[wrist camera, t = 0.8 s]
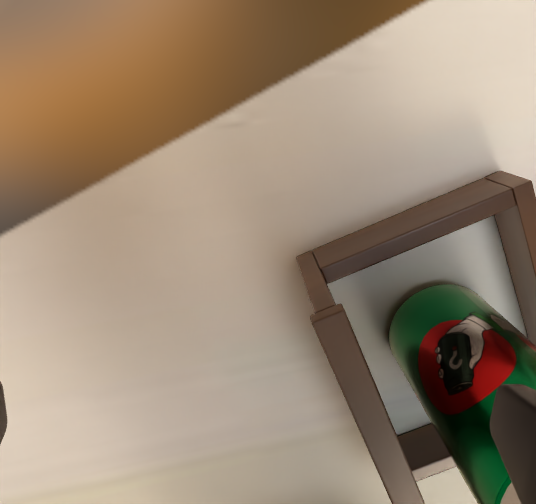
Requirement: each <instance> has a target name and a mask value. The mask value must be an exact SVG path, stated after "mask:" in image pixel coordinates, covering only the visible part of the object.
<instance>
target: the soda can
mask: <svg viewBox="0 0 536 504" xmlns="http://www.w3.org/2000/svg"><path fill="white" fill-rule="evenodd" d="M389 344H390V348H391V351H392V354H393V356H394V357H395V359H396V361H397V363H398V364H399V366H400V368H401V370H402V372H403V373H404V375H405V377H406V379H407V380H408V382H409V384H410V386H411V387H412V389H413V391H414V393H415V394H416V396H417V398H418V400H419V401H420V403H421V405H422V407H423V408H424V410H425V412H426V414H427V415H428V417H429V419H430V421H431V422H432V424H433V426H434V428H435V429H436V431H437V433H438V435H439V436H440V438H441V440H442V442H443V443H444V445H445V447H446V449H447V450H448V452H449V454H450V456H451V457H452V459H453V461H454V463H455V464H456V466H457V468H458V470H459V471H460V473H461V475H462V477H463V478H464V480H465V482H466V484H467V485H468V487H469V489H470V491H471V493H472V494H473V496H474V498H475V500H476V501H477V503H478V504H521V502H520V500H519V498H518V496H517V493H516V491H515V489H514V486H513V484H512V482H511V479H510V477H509V475H508V472H507V470H506V468H505V466H504V463H503V461H502V459H501V456H500V454H499V452H498V449H497V447H496V445H495V442H494V440H493V438H492V435H491V432H490V417H491V413H492V408H493V404H494V399H495V395H496V391H497V389H498V387H499V386H500V385H502V384H522V385H525V386H528V387H530V388H532V389H534V390H536V345H535V344H534V343H532V342H531V341H530V340H529V339H528V338H527V337H526V336H524V335H523V334H522V333H521V332H520V331H519V330H518V329H516V328H515V327H514V326H513V325H512V324H511V323H510V322H508V321H507V320H506V319H505V318H504V317H503V316H502V315H500V314H499V313H498V312H497V311H496V310H495V309H494V308H493V307H491V306H490V305H489V304H488V303H487V302H486V301H485V300H483V299H482V298H481V297H480V296H479V295H478V294H477V293H475V292H473V291H472V290H470V289H468V288H465V287H463V286H459V285H452V284H443V285H436V286H431V287H428V288H426V289H423V290H421V291H419V292H417V293H416V294H414V295H413V296H411V297H410V298H409V299H407V300H406V301H405V302H404V303H403V304H402V305H401V307H400V308H399V309H398V311H397V312H396V314H395V316H394V318H393V320H392V323H391V326H390V331H389Z"/></svg>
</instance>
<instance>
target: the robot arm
mask: <svg viewBox="0 0 536 504" xmlns="http://www.w3.org/2000/svg"><path fill="white" fill-rule="evenodd" d="M6 428H7V413H6V406H5V399H4V392H3V386H2V383H1V382H0V444H1V442H2V439H3V437H4V434H5V432H6ZM490 432H491V435H492V438H493V440H494V442H495V445H496V447H497V449H498V452H499V454H500V456H501V459H502V461H503V463H504V466H505V468H506V470H507V472H508V475H509V477H510V479H511V482H512V484H513V486H514V489H515V491H516V493H517V496H518V498H519V500H520V502H521V504H536V390H534V389H532V388H530V387H528V386H525V385H522V384H502V385H500V386H499V387H498V389H497V391H496V395H495V399H494V404H493V408H492V413H491V417H490Z"/></svg>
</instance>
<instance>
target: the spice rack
mask: <svg viewBox="0 0 536 504" xmlns="http://www.w3.org/2000/svg"><path fill="white" fill-rule="evenodd" d="M493 215H495V218H496V222H497V226H498V229H499V233H500V237H501V240H502V244H503V247H504V251H505V255H506V258H507V262H508V266H509V269H510V273H511V276H512V280H513V284H514V287H515V291H516V294H517V298H518V302H519V305H520V309H521V313H522V316H523V320H524V323H525V327H526V331H527V334H528V338H529V340H530V341H531V342H532V343H534V344H535V345H536V197H535V193H534V189H533V185H532V181H531V180H528V179H525V178H521V177H518V176H515V175H512V174H509V173H506V172H503V171H498V172H496V173H494V174H491V175H489V176H487V177H485V178H483V179H480V180H478V181H475V182H473V183H471V184H468V185H466V186H463V187H461V188H459V189H456V190H454V191H452V192H449V193H447V194H444V195H442V196H440V197H437V198H435V199H433V200H430V201H428V202H425V203H423V204H421V205H418V206H416V207H414V208H411V209H409V210H406V211H404V212H402V213H399V214H397V215H395V216H392V217H390V218H387V219H385V220H383V221H380V222H378V223H376V224H373V225H371V226H368V227H366V228H364V229H361V230H359V231H357V232H354V233H352V234H349V235H347V236H345V237H342V238H340V239H338V240H335V241H333V242H330V243H328V244H326V245H323V246H321V247H318V248H316V249H314V250H313V251H309V252H306V253H304V254H302V255H299V256H297V257H296V259H297V262H298V265H299V268H300V271H301V274H302V277H303V280H304V283H305V286H306V289H307V292H308V295H309V298H310V301H311V304H312V307H313V310H314V313H315V314H313V315H311V316H310V319H311V322H312V325H313V327H314V329H315V332H316V334H317V336H318V338H319V341H320V343H321V345H322V347H323V350H324V352H325V354H326V356H327V359H328V361H329V363H330V365H331V368H332V370H333V372H334V374H335V377H336V379H337V381H338V383H339V386H340V388H341V390H342V392H343V395H344V397H345V399H346V401H347V404H348V406H349V408H350V410H351V413H352V415H353V417H354V419H355V422H356V424H357V426H358V428H359V430H360V433H361V435H362V437H363V439H364V442H365V444H366V446H367V448H368V451H369V453H370V455H371V457H372V460H373V462H374V464H375V466H376V469H377V471H378V473H379V475H380V478H381V480H382V482H383V484H384V487H385V489H386V491H387V493H388V496H389V498H390V500H391V502H392V504H425V503H424V500H423V498H422V495H421V493H420V490H419V488H418V486H417V483H416V481H419V480H422V479H424V478H427V477H430V476H432V475H435V474H438V473H440V472H443V471H446V470H448V469H451V468H454V467H456V464H455V463H454V461H453V459H452V457H451V456H450V454H449V452H448V450H447V449H446V447H445V445H444V443H443V442H442V440H441V438H440V436H439V435H438V433H437V431H436V429H435V428H434V426H433V424H429V425H426V426H424V427H421V428H418V429H416V430H413V431H411V432H408V433H405V434H403V435H400V436H398V437H397V435H396V433H395V430H394V428H393V425H392V423H391V421H390V418H389V416H388V413H387V411H386V409H385V406H384V404H383V401H382V399H381V397H380V394H379V392H378V389H377V387H376V384H375V382H374V380H373V377H372V375H371V372H370V370H369V368H368V365H367V363H366V360H365V358H364V356H363V353H362V351H361V348H360V346H359V344H358V341H357V339H356V336H355V334H354V331H353V329H352V327H351V324H350V322H349V319H348V317H347V315H346V312H345V310H344V308H343V306H342V304H338V305H336V304H335V302H334V300H333V297H332V295H331V293H330V291H329V288H328V286H327V284H328V283H331V282H333V281H335V280H338V279H340V278H343V277H345V276H348V275H350V274H352V273H355V272H357V271H360V270H362V269H364V268H367V267H369V266H372V265H374V264H377V263H379V262H381V261H384V260H386V259H389V258H391V257H393V256H396V255H398V254H401V253H403V252H406V251H408V250H410V249H413V248H415V247H418V246H420V245H422V244H425V243H427V242H430V241H432V240H435V239H437V238H439V237H442V236H444V235H447V234H449V233H451V232H454V231H456V230H459V229H461V228H464V227H466V226H468V225H471V224H473V223H476V222H478V221H480V220H483V219H485V218H488V217H490V216H493ZM326 283H327V284H326Z"/></svg>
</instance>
